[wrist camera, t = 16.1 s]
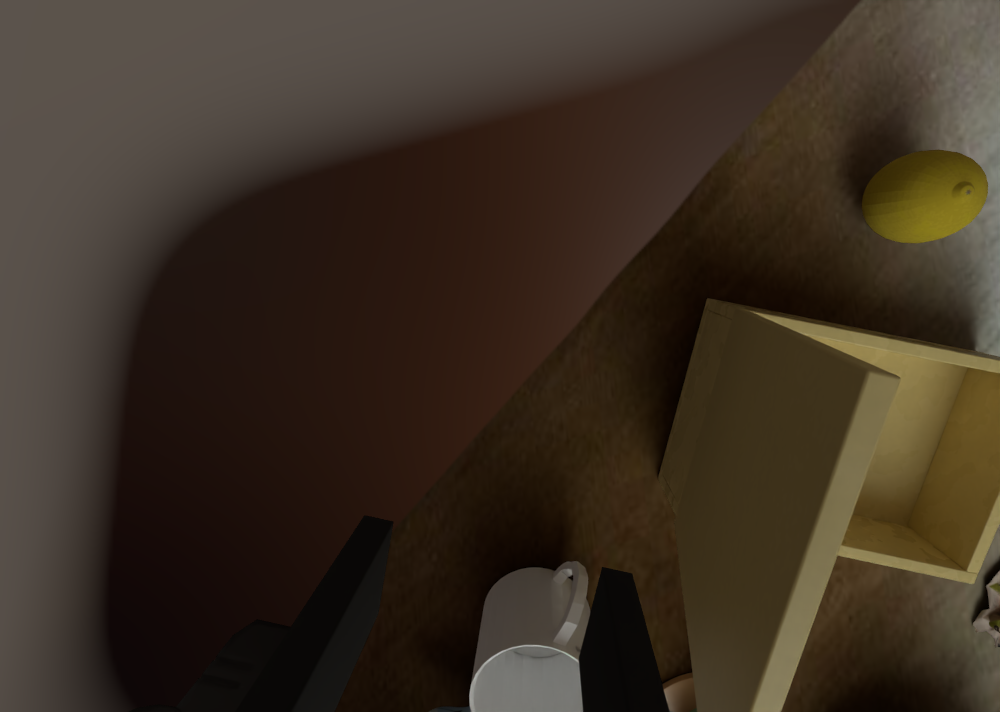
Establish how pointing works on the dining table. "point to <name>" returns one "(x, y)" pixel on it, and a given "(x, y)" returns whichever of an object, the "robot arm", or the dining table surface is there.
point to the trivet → (680, 693)
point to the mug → (532, 642)
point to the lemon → (924, 196)
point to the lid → (770, 505)
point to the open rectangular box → (888, 444)
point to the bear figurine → (991, 612)
